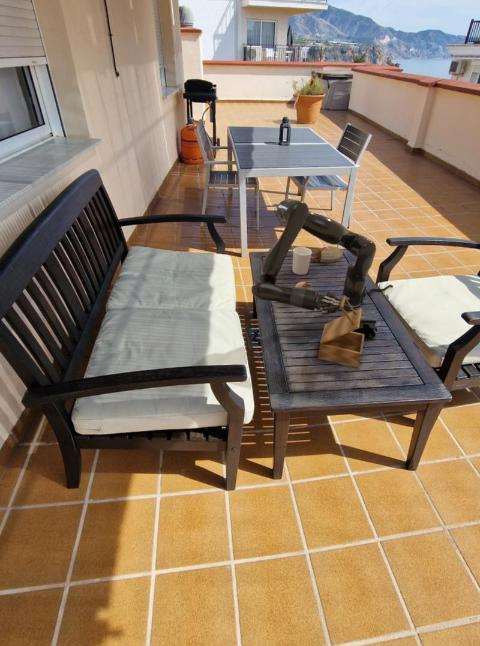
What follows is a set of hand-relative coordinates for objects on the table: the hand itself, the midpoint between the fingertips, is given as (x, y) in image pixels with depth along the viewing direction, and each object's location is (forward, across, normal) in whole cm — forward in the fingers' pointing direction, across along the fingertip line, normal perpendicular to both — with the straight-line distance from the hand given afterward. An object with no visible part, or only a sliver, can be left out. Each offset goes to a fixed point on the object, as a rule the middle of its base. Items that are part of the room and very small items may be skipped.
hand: (349, 308), depth 143 cm
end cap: (+7, +16, +22) cm, 28 cm away
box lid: (-1, 0, +9) cm, 9 cm away
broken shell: (-23, +35, +22) cm, 48 cm away
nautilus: (-20, +78, +22) cm, 83 cm away
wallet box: (0, 0, +22) cm, 22 cm away
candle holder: (-29, +60, +22) cm, 70 cm away
